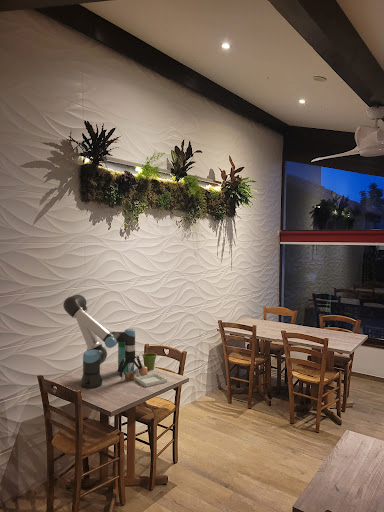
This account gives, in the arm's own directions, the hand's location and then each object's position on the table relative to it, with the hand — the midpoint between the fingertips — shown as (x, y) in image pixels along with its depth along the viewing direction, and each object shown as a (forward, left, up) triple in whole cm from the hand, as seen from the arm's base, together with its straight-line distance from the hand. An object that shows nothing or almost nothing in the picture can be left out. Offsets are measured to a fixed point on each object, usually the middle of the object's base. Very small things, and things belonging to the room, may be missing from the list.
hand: (130, 379), depth 299 cm
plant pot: (+25, +14, 0) cm, 29 cm away
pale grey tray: (+11, -12, 0) cm, 16 cm away
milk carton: (+7, +19, 0) cm, 21 cm away
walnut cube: (0, 0, 0) cm, 1 cm away
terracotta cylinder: (+12, 0, 0) cm, 12 cm away
